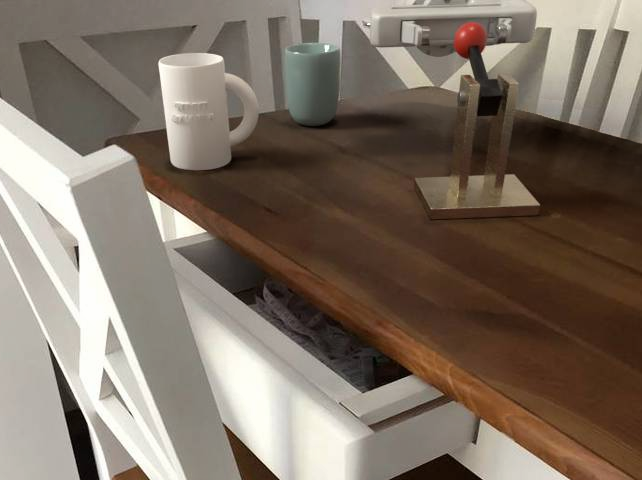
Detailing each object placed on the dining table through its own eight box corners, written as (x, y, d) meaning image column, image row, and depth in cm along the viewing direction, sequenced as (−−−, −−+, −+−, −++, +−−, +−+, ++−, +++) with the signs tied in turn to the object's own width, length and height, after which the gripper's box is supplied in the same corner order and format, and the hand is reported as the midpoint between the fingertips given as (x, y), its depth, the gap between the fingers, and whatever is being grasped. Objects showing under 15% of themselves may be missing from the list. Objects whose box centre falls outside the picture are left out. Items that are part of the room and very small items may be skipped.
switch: (449, 46, 85) (454, 15, 81) (479, 46, 85) (486, 14, 82) (468, 122, 78) (476, 91, 75) (502, 120, 78) (510, 90, 75)
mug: (263, 168, 94) (258, 64, 87) (169, 172, 93) (156, 68, 86) (259, 148, 101) (254, 50, 93) (171, 152, 100) (159, 54, 92)
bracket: (413, 187, 88) (423, 69, 80) (512, 184, 88) (531, 66, 80) (430, 219, 80) (442, 92, 72) (538, 215, 81) (562, 88, 73)
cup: (348, 120, 111) (350, 45, 105) (321, 133, 106) (321, 56, 100) (305, 113, 114) (304, 40, 108) (276, 125, 109) (274, 50, 103)
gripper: (361, -10, 93) (376, 7, 82) (519, -14, 94) (555, 2, 83) (359, 46, 97) (373, 69, 86) (512, 41, 98) (545, 63, 87)
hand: (464, 36), depth 85 cm, fingers open, 8 cm apart
